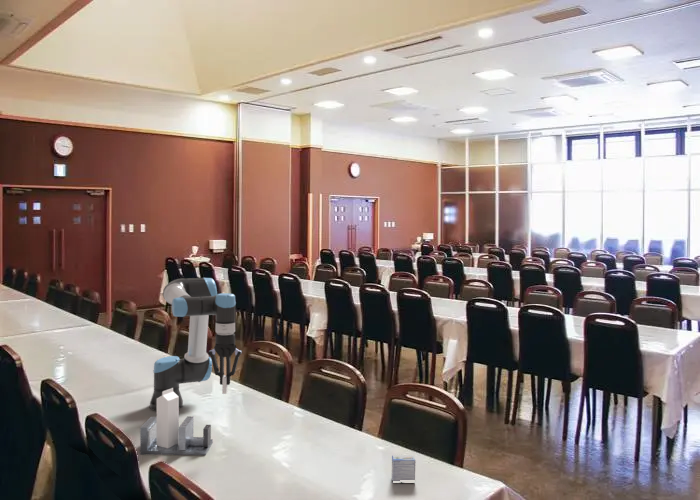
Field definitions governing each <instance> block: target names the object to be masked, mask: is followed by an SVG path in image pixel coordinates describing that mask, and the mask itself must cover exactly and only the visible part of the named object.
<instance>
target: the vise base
mask: <svg viewBox="0 0 700 500" xmlns="http://www.w3.org/2000/svg"><path fill="white" fill-rule="evenodd" d="M139 430H140V432H139V434H140V436H139V438H140V439H139V440H140V443H139V444H140V449H139V451H140V452H139V453H140V455H153V456H154V455H155V456H156V455H160V456H161V455H162V456H163V455H164V456H165V455H167V456H169V455H170V456H171V455H173V456H206V455H207V454H208V452H209V451H210V448H211V447H212V445H213V443H214V441H213V438H211V442H210V444H209V446H208V447H203V446H200V445H189V446H188V447H187V449H186V450H179V445H178V444H176V445H174V446H172V447H170V448H164V447H160V446H157V416H150V417H149V418H148V419H147V420H146V421H145V422H144V423H143V424H142V425H141V426H140V427H139Z"/></svg>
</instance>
